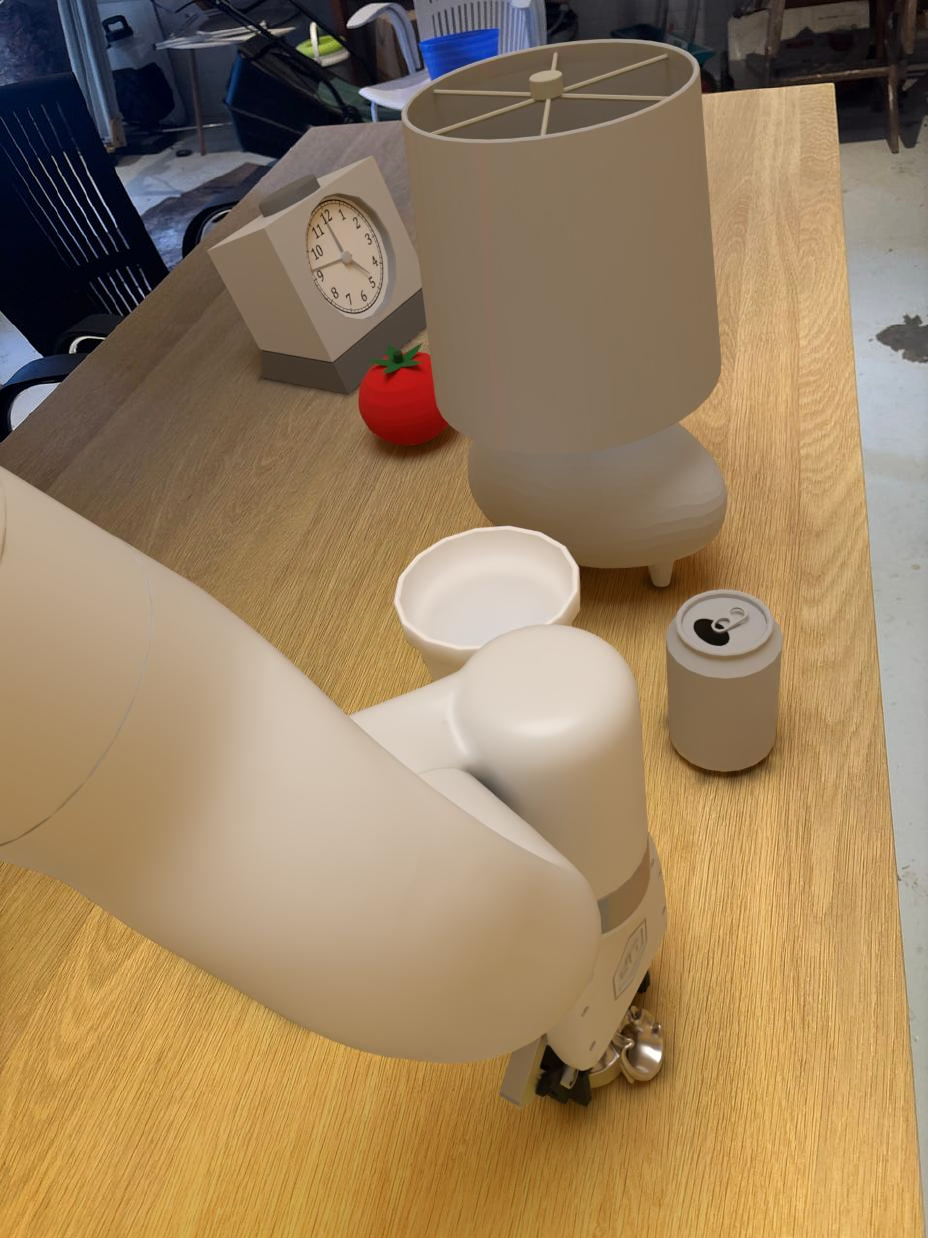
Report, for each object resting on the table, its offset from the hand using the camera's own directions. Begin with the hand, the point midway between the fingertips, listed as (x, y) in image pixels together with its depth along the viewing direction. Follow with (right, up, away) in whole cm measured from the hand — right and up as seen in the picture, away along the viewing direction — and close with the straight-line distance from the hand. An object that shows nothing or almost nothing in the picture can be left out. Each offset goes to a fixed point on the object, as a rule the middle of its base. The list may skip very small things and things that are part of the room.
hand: (595, 1032), depth 59 cm
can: (+11, +15, +15) cm, 24 cm away
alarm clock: (-22, +59, +70) cm, 94 cm away
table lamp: (+4, +28, +31) cm, 42 cm away
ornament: (0, -1, +1) cm, 1 cm away
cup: (-4, +15, +19) cm, 24 cm away
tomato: (-13, +43, +52) cm, 69 cm away
